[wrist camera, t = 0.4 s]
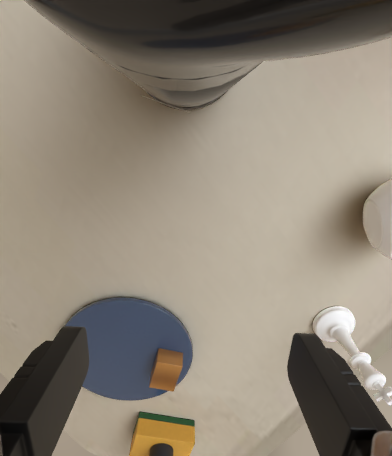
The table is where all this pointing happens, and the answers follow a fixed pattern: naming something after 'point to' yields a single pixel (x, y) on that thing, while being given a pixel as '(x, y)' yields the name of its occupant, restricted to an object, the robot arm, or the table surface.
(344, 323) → the chess piece
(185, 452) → the dish sponge
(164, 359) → the orange brown rectangular block
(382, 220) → the white round lump
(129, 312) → the plate
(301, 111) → the table surface
